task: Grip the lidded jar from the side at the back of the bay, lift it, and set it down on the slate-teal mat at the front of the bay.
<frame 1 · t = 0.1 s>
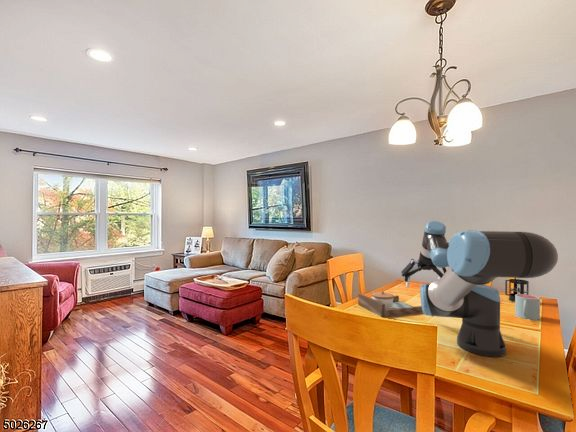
hand: (422, 286, 139), 15 cm above the table, tool tilted 35°, fingers open, 13 cm apart
lidded jar: (382, 309, 152), resting in bay
french press: (517, 301, 170), on the table
bay: (390, 308, 154), on the table
mug: (526, 318, 140), on the table
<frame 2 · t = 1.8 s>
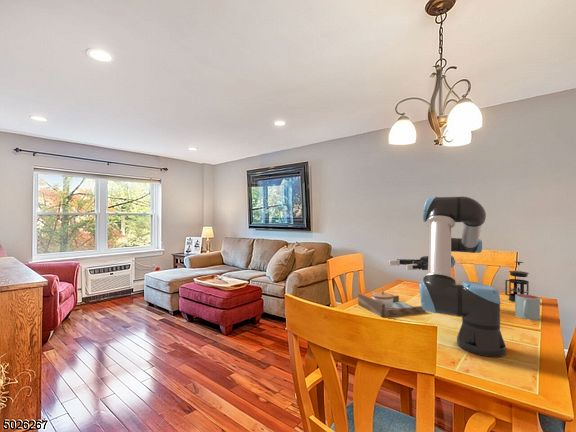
hand: (397, 265, 155), 23 cm above the table, tool horizontal, fingers open, 13 cm apart
nothing on the table moved.
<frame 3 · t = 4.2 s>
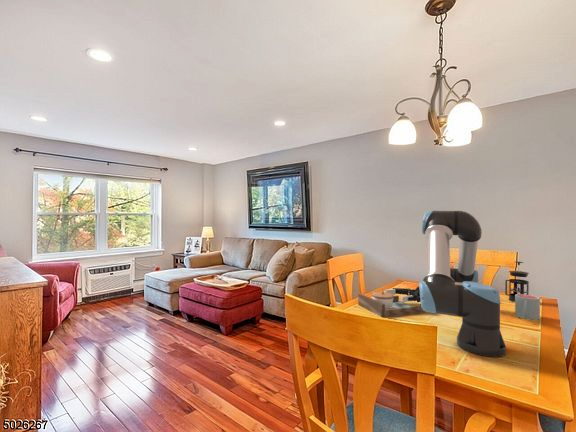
hand: (393, 295, 155), 6 cm above the table, tool horizontal, fingers open, 13 cm apart
nothing on the table moved.
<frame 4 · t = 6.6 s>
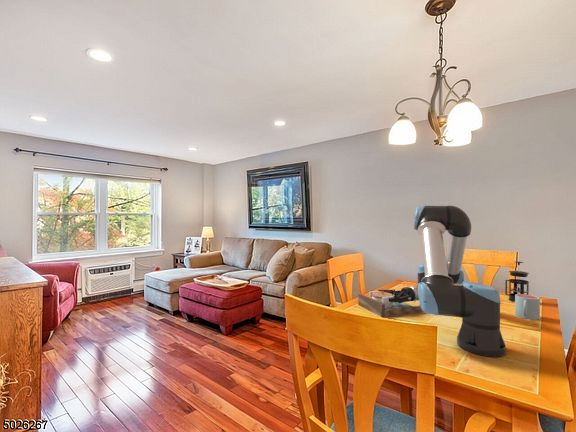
hand: (375, 297, 151), 7 cm above the table, tool horizontal, fingers closed on lidded jar, 11 cm apart
lidded jar: (382, 309, 152), resting in bay, touching gripper
everything else where it was.
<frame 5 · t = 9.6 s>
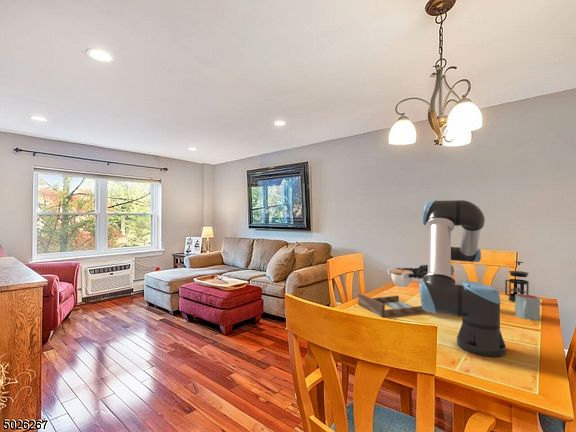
hand: (395, 273, 155), 18 cm above the table, tool horizontal, fingers closed on lidded jar, 11 cm apart
lidded jar: (401, 286, 156), point 11 cm above the table, touching gripper
everything else where it was.
when the fingers open (8 cm above the table, at t = 12.7 s): lidded jar stays where it is, resting on bay.
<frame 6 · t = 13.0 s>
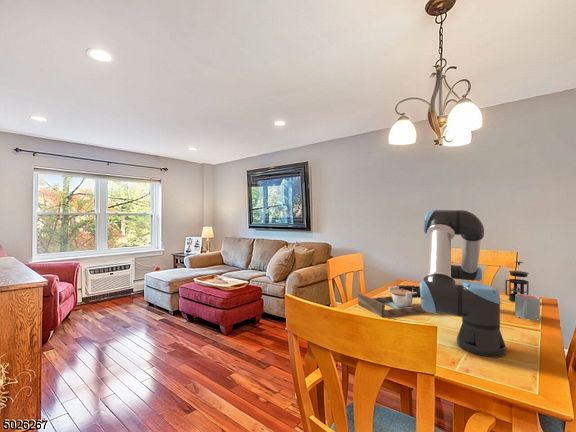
hand: (397, 292, 155), 8 cm above the table, tool horizontal, fingers open, 13 cm apart
lidded jar: (402, 306, 156), resting on bay
everything else where it was.
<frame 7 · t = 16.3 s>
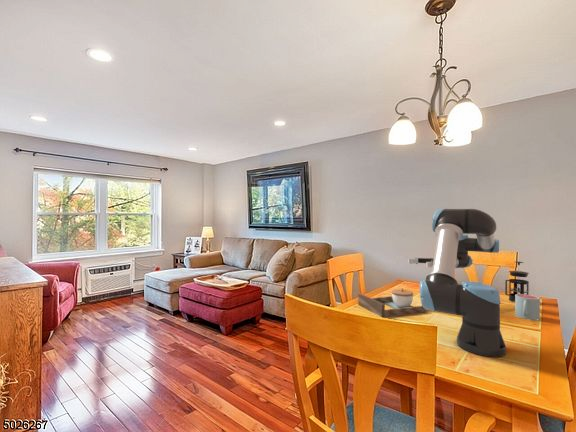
hand: (417, 262, 160), 23 cm above the table, tool horizontal, fingers open, 13 cm apart
nothing on the table moved.
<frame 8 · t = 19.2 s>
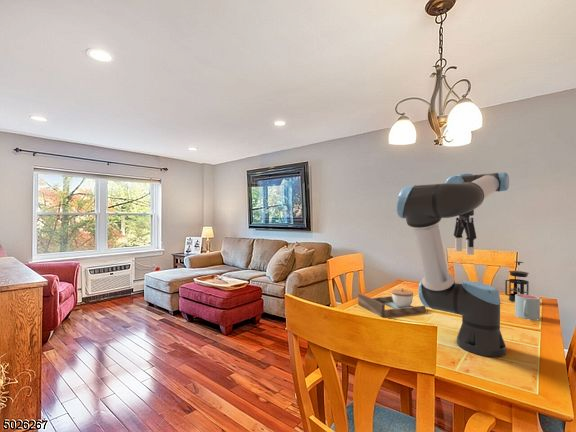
hand: (464, 252, 136), 32 cm above the table, tool pointing down, fingers open, 13 cm apart
nothing on the table moved.
at the end: lidded jar inside the target area on the bay (0.1 cm from its centre), point 0.2 cm above the bay's base; lidded jar tilted 0°; the gripper is holding nothing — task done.
